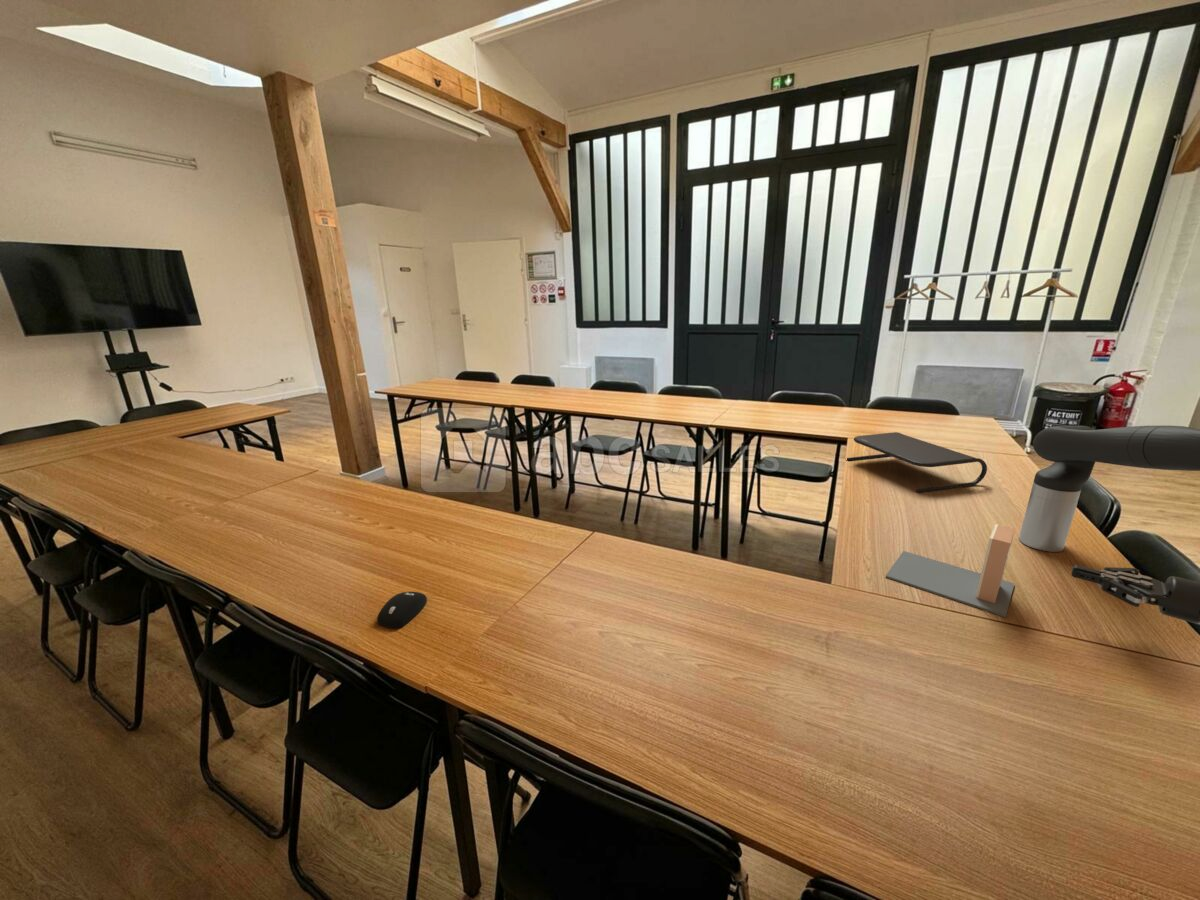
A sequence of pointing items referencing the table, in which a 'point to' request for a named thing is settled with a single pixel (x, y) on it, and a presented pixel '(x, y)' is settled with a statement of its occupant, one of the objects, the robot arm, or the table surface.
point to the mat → (947, 581)
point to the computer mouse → (401, 609)
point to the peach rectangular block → (995, 563)
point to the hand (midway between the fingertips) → (1072, 570)
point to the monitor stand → (917, 454)
